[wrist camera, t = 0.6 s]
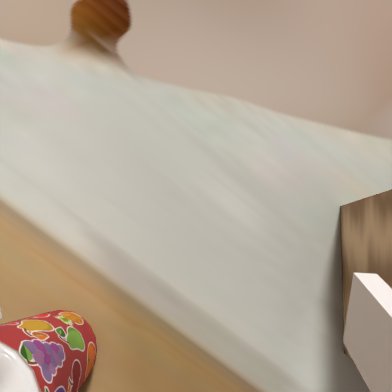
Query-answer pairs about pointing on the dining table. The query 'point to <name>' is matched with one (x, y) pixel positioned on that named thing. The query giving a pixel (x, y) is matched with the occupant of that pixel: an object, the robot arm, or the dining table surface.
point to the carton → (366, 242)
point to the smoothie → (46, 353)
